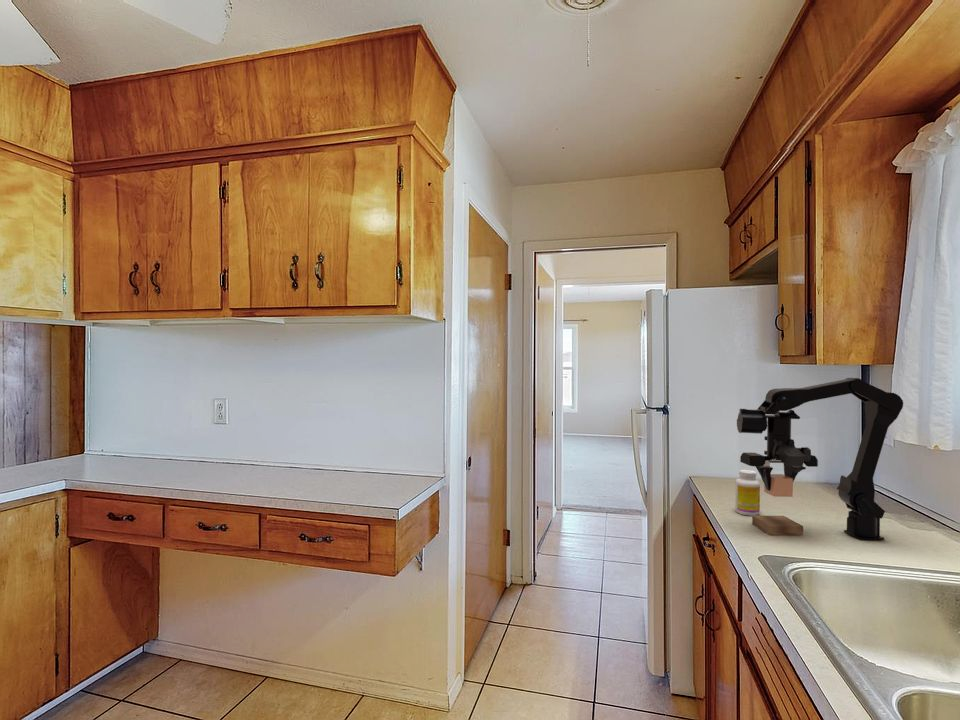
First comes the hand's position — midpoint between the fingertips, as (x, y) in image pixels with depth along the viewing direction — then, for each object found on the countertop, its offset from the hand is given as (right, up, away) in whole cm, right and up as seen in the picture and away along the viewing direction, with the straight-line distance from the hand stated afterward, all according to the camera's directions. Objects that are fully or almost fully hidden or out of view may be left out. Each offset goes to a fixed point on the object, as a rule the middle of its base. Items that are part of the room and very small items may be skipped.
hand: (778, 490), depth 144 cm
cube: (0, -1, 0) cm, 1 cm away
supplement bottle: (0, -11, +16) cm, 19 cm away
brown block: (0, -11, +1) cm, 11 cm away
